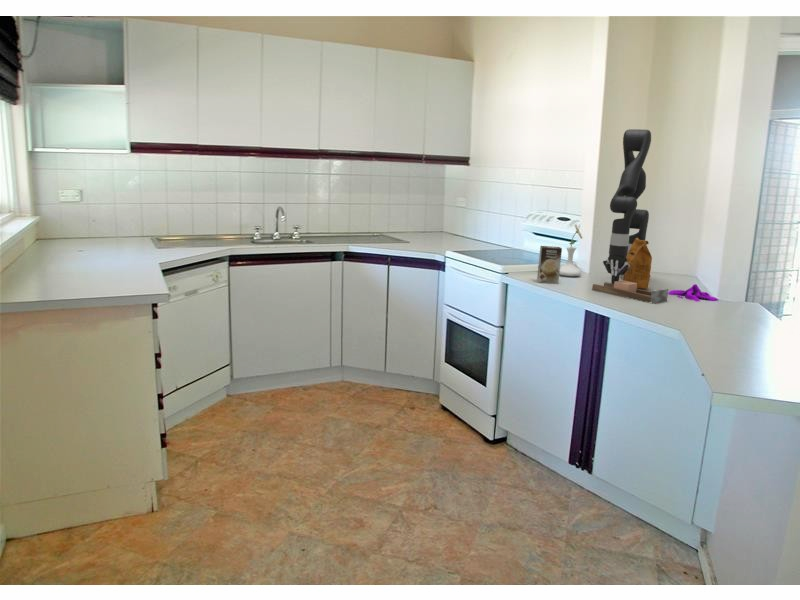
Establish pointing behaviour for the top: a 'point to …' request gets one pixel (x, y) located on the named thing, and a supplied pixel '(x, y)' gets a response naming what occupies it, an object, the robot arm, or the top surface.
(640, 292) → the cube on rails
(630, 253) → the coffee package
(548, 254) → the coffee box
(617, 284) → the block
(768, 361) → the top surface
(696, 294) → the cloth
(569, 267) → the flower in vase
